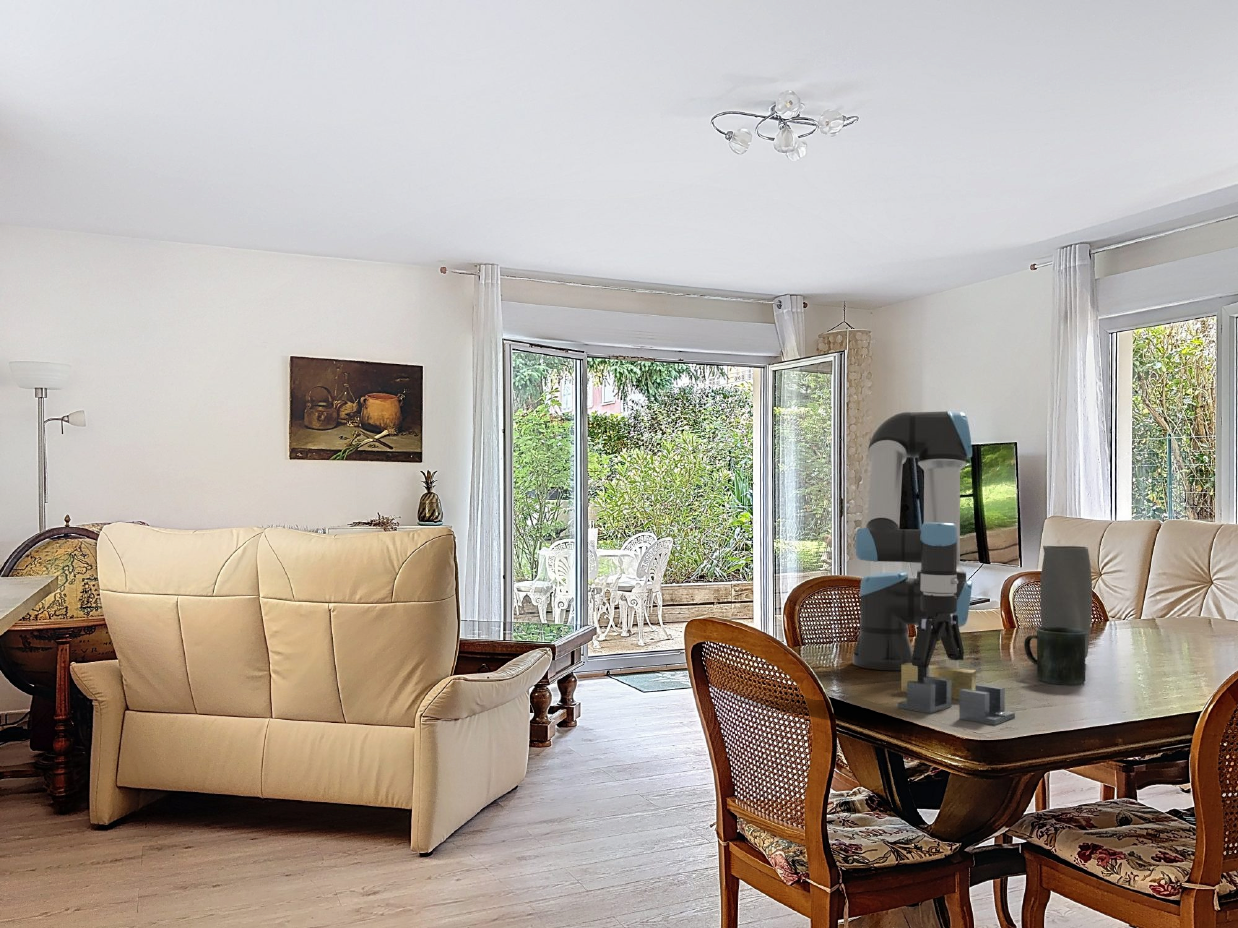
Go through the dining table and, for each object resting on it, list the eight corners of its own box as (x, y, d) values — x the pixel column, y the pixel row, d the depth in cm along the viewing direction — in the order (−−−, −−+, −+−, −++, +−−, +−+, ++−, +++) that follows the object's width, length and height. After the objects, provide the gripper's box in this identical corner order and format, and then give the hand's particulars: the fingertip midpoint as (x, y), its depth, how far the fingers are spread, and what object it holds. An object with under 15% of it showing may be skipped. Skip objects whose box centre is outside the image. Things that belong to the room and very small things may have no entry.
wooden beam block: (901, 692, 214) (901, 664, 214) (906, 689, 217) (906, 662, 217) (971, 701, 205) (971, 672, 206) (976, 698, 208) (976, 670, 208)
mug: (1071, 688, 220) (1071, 634, 220) (1012, 677, 232) (1012, 626, 232) (1096, 682, 226) (1096, 631, 227) (1037, 673, 238) (1037, 623, 238)
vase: (1089, 668, 245) (1089, 548, 246) (1036, 663, 251) (1036, 546, 252) (1095, 661, 255) (1095, 546, 256) (1044, 657, 262) (1044, 544, 263)
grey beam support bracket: (959, 718, 188) (959, 690, 189) (979, 711, 195) (979, 683, 195) (995, 725, 184) (995, 695, 184) (1014, 717, 190) (1014, 689, 190)
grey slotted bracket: (897, 707, 198) (898, 680, 198) (919, 701, 204) (919, 674, 204) (930, 713, 193) (930, 685, 193) (951, 706, 199) (951, 679, 199)
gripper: (928, 599, 200) (927, 704, 200) (980, 591, 218) (979, 688, 217) (894, 596, 206) (894, 698, 205) (948, 588, 223) (947, 683, 222)
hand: (938, 693), depth 211 cm, fingers open, 12 cm apart
